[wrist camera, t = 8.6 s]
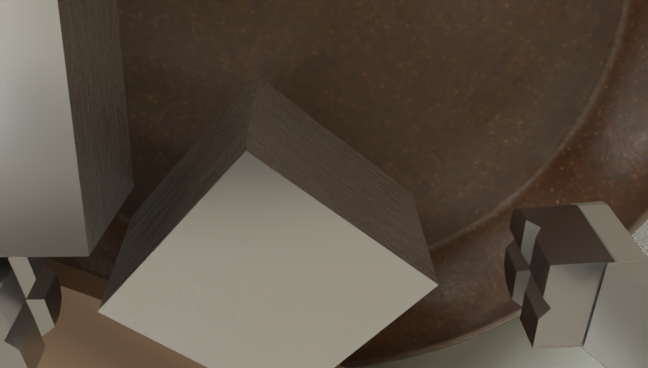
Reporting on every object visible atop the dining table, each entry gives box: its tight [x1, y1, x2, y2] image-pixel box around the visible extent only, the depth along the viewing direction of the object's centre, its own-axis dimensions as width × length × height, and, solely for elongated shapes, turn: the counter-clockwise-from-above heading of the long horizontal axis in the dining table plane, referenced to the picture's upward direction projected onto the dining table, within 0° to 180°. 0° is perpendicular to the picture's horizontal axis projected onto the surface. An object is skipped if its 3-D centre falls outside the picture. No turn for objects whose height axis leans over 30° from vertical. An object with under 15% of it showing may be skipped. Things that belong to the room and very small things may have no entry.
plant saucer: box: [47, 0, 648, 368], centre depth 13 cm, size 18×18×3 cm
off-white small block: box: [98, 74, 439, 368], centre depth 12 cm, size 4×4×3 cm
